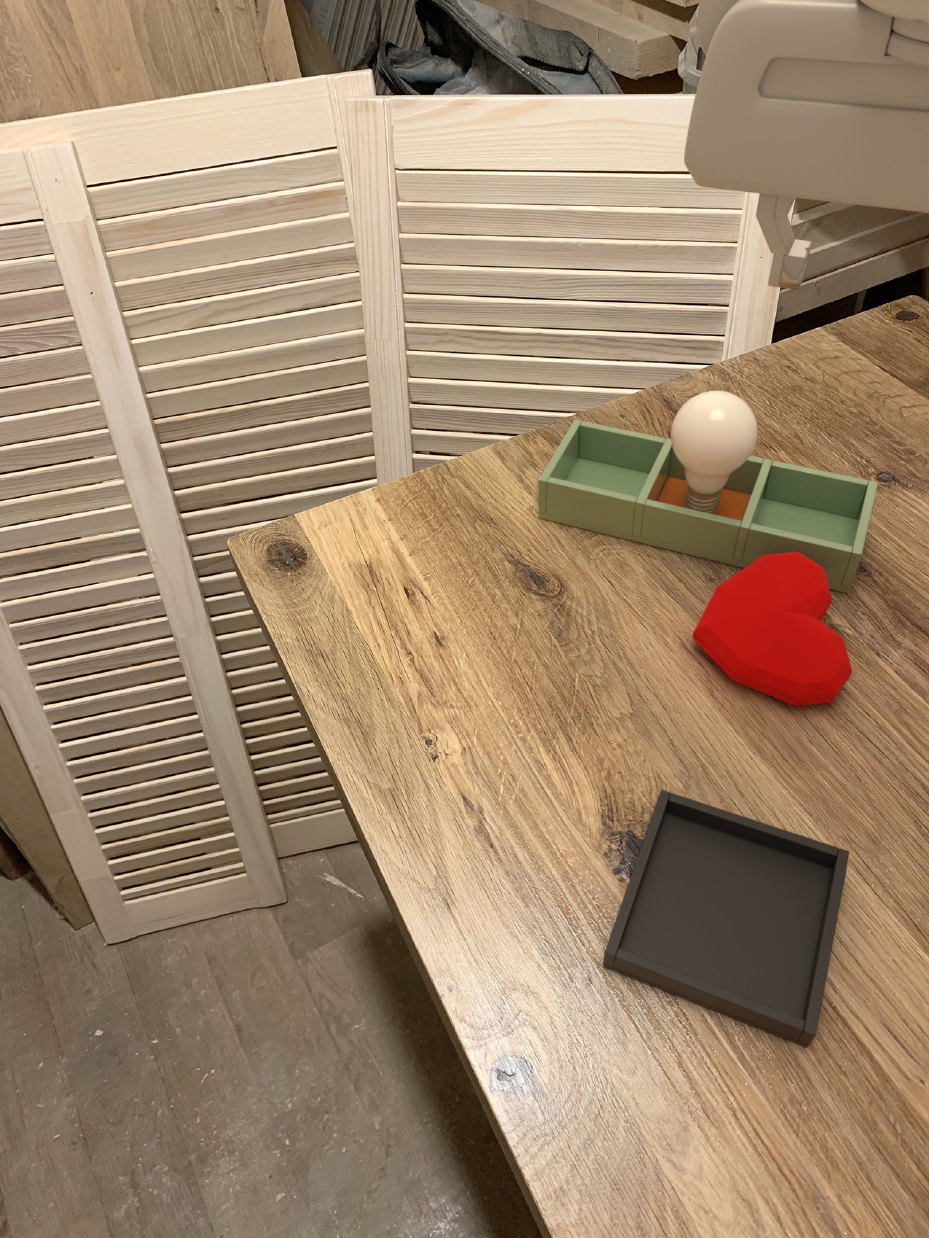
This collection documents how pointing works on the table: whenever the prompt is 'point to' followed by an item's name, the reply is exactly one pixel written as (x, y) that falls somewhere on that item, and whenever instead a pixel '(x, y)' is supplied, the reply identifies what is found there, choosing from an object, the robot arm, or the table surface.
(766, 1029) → the tray
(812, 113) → the robot arm
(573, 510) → the green compartment box
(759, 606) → the heart
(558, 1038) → the table surface
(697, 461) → the lightbulb
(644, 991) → the table surface
